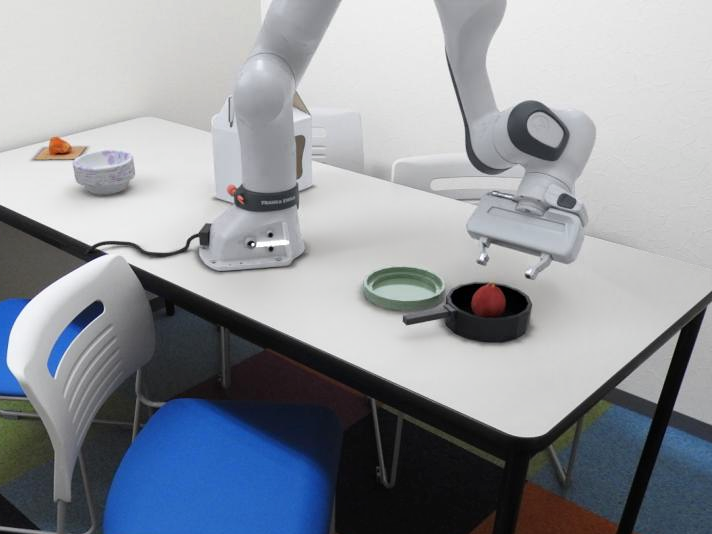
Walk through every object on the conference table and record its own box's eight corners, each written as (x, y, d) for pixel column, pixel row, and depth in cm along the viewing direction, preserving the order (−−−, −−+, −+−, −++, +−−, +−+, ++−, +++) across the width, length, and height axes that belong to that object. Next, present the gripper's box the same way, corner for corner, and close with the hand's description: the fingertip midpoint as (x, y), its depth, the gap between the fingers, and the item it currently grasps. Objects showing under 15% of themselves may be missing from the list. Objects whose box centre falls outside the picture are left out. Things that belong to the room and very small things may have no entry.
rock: (76, 159, 222) (73, 144, 220) (34, 160, 223) (31, 145, 220) (86, 147, 232) (83, 132, 230) (45, 147, 232) (42, 133, 230)
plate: (384, 319, 139) (385, 306, 138) (350, 284, 151) (351, 273, 150) (459, 304, 143) (460, 292, 142) (420, 272, 155) (421, 260, 154)
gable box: (253, 210, 186) (248, 87, 170) (215, 198, 193) (206, 79, 177) (312, 186, 199) (313, 69, 183) (274, 175, 207) (271, 63, 191)
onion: (465, 315, 140) (470, 274, 135) (496, 313, 140) (502, 272, 136) (474, 330, 135) (480, 289, 130) (506, 329, 135) (513, 287, 131)
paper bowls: (65, 195, 197) (59, 164, 193) (98, 177, 209) (94, 147, 204) (116, 202, 192) (112, 170, 188) (147, 183, 204) (144, 152, 199)
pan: (498, 298, 145) (501, 276, 143) (544, 333, 134) (548, 310, 131) (385, 320, 139) (386, 297, 136) (423, 359, 128) (425, 335, 125)
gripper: (481, 179, 139) (447, 248, 139) (592, 204, 128) (555, 279, 127) (490, 197, 144) (457, 263, 144) (597, 222, 133) (562, 294, 132)
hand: (504, 270), depth 135 cm, fingers open, 8 cm apart
